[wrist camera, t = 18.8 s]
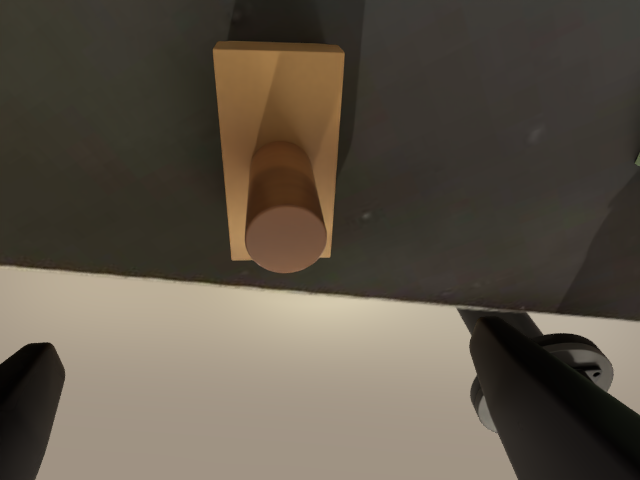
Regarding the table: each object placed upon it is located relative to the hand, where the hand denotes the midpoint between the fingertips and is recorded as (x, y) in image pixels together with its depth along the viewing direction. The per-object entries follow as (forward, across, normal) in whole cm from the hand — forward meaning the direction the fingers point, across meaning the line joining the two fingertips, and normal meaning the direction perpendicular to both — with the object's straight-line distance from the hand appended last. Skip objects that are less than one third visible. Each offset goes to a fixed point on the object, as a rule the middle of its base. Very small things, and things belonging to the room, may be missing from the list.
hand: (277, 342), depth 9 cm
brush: (+12, 0, 0) cm, 12 cm away
